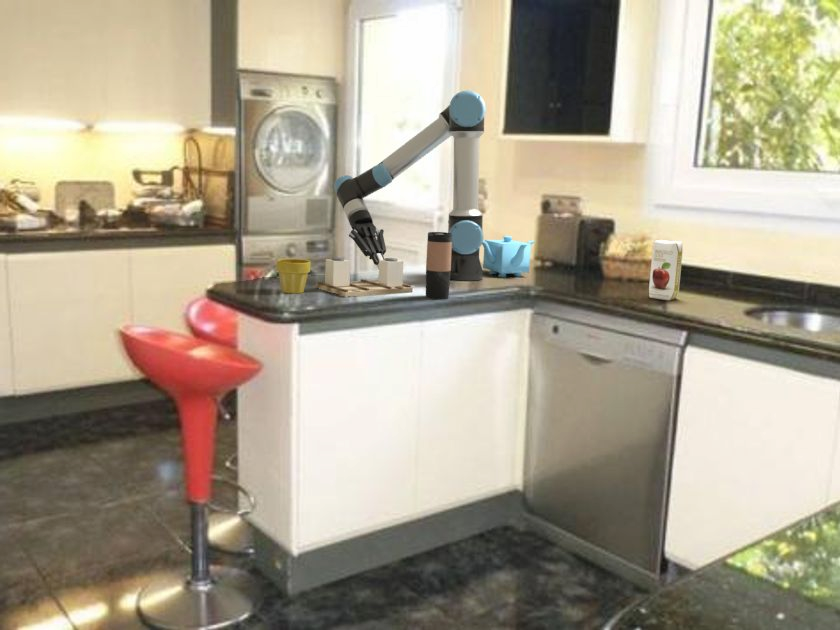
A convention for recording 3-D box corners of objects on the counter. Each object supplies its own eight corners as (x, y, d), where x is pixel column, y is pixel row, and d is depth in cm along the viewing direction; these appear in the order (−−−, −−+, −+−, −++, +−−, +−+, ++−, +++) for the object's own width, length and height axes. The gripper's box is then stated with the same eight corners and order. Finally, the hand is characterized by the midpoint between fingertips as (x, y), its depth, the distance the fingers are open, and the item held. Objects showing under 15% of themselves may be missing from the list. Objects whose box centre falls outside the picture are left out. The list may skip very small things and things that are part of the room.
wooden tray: (316, 288, 267) (316, 281, 267) (381, 283, 282) (381, 277, 281) (345, 297, 253) (345, 290, 252) (412, 292, 268) (412, 285, 267)
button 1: (325, 284, 265) (325, 257, 264) (341, 283, 269) (342, 256, 267) (333, 286, 261) (333, 259, 260) (349, 285, 265) (350, 258, 263)
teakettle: (488, 270, 327) (490, 232, 325) (535, 274, 321) (538, 236, 318) (475, 276, 310) (477, 236, 307) (524, 280, 304) (527, 240, 301)
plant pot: (317, 292, 260) (317, 260, 259) (294, 295, 252) (294, 263, 250) (292, 288, 266) (292, 257, 264) (269, 291, 258) (269, 260, 256)
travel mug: (450, 296, 263) (453, 232, 259) (448, 300, 256) (451, 234, 252) (425, 294, 264) (428, 231, 260) (423, 298, 256) (426, 233, 253)
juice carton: (655, 295, 282) (660, 239, 279) (680, 298, 277) (685, 241, 274) (646, 297, 277) (651, 240, 273) (670, 301, 271) (676, 243, 268)
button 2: (378, 284, 270) (379, 258, 268) (393, 283, 273) (394, 257, 272) (386, 286, 266) (387, 260, 264) (402, 285, 269) (403, 259, 268)
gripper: (370, 222, 288) (395, 277, 278) (337, 223, 280) (362, 279, 270) (379, 208, 283) (405, 263, 273) (346, 208, 275) (372, 265, 265)
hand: (384, 271), depth 272 cm, fingers closed
